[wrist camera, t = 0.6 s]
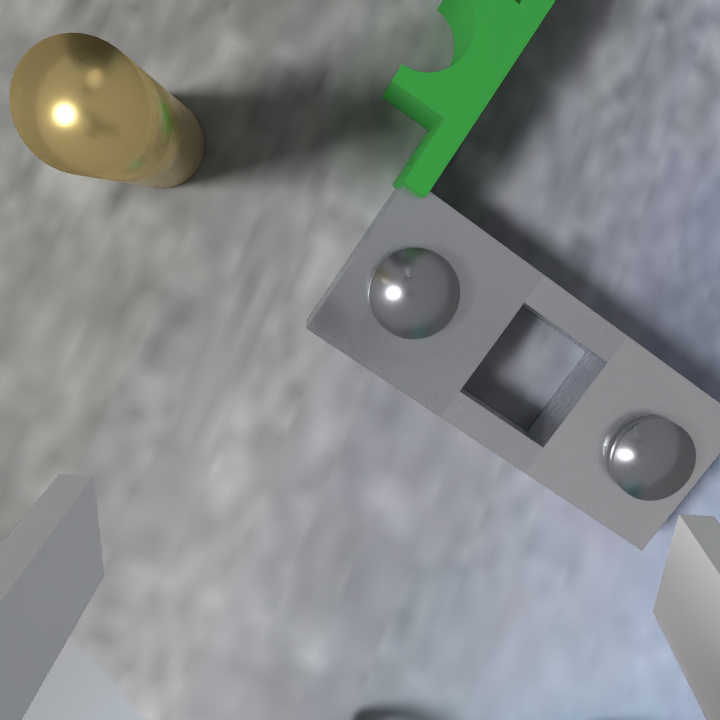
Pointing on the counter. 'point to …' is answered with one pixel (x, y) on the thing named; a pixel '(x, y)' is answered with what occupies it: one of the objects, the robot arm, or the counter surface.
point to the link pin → (102, 114)
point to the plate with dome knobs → (477, 336)
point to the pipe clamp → (461, 80)
